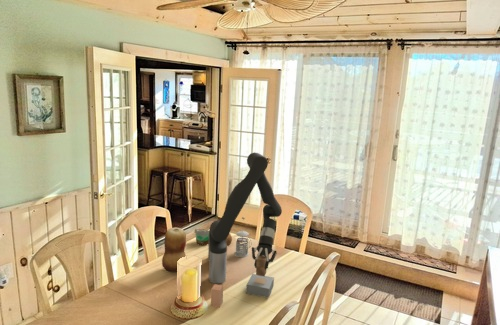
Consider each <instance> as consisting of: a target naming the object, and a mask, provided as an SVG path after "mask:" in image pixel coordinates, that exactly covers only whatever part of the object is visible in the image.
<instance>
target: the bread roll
mask: <svg viewBox="0 0 500 325" xmlns="http://www.w3.org/2000/svg"><path fill="white" fill-rule="evenodd" d="M232 241H233V237H232V235H231V232H230V233H229V235H228V237H227V238H226V244H227V245H231V244H232Z"/></svg>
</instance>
